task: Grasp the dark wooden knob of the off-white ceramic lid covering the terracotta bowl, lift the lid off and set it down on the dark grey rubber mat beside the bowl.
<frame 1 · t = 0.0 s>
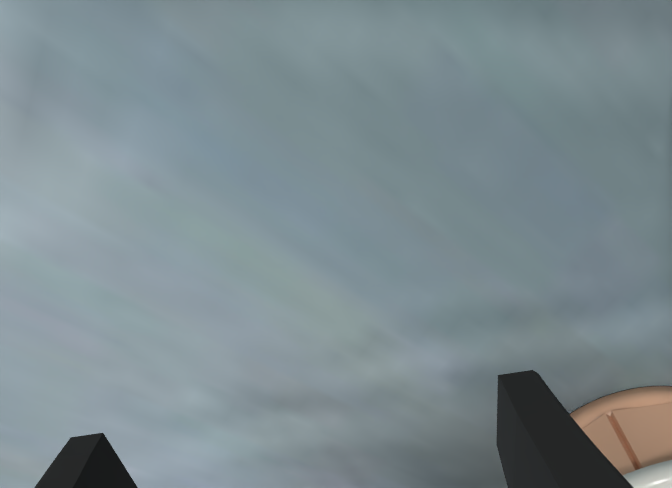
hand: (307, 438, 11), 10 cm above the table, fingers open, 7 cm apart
bowl: (625, 446, 29), on the table
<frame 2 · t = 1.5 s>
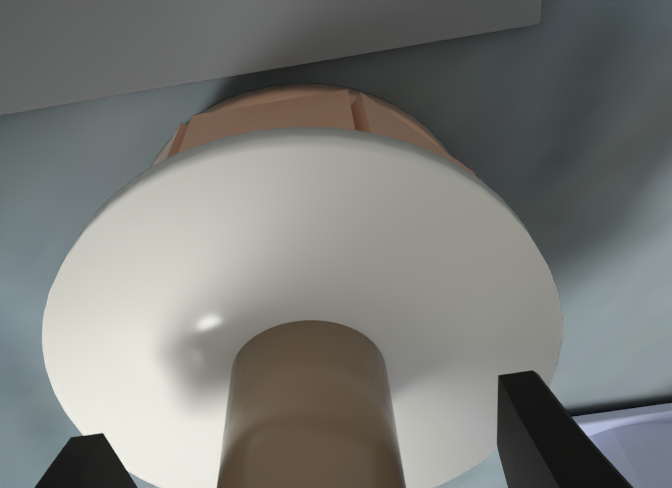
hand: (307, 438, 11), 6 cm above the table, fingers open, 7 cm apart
lid: (308, 349, 13), point 4 cm above the table, touching bowl
bowl: (306, 243, 16), on the table
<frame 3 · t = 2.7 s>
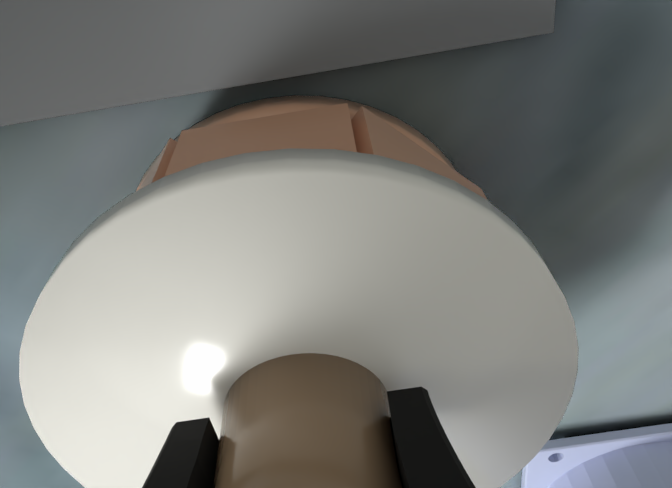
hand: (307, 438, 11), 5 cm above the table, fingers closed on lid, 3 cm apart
lid: (306, 379, 12), point 4 cm above the table, touching bowl, gripper
bowl: (304, 261, 15), on the table
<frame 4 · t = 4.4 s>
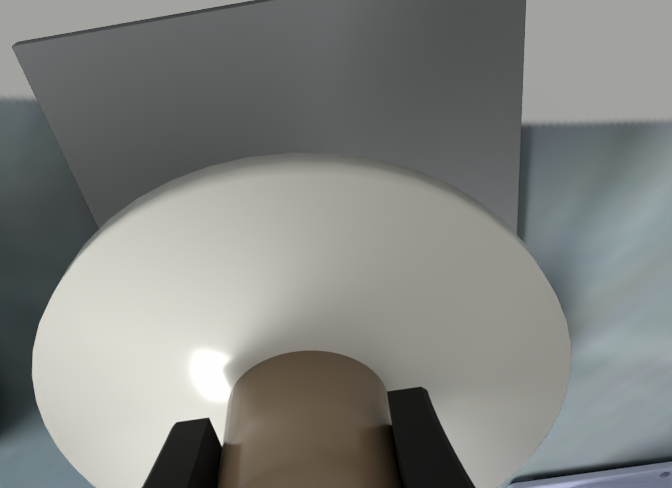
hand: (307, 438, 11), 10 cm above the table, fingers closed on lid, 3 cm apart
lid: (308, 378, 12), point 8 cm above the table, touching gripper
mat: (302, 174, 19), on the table
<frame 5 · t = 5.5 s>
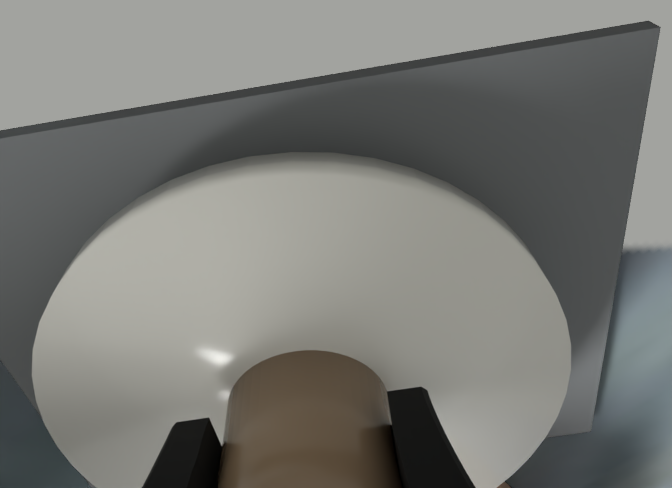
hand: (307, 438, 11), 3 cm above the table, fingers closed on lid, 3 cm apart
lid: (308, 378, 12), point 2 cm above the table, touching gripper
mat: (305, 314, 13), on the table
when the fingers open (3 cm above the table, at t = 6.4 s): lid stays where it is, resting on mat.
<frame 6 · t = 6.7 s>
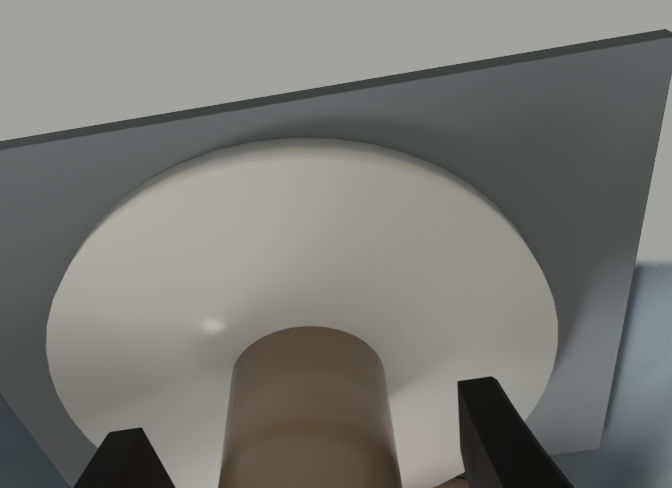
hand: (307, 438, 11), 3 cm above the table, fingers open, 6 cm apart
lid: (308, 353, 13), resting on mat
mat: (305, 331, 13), on the table
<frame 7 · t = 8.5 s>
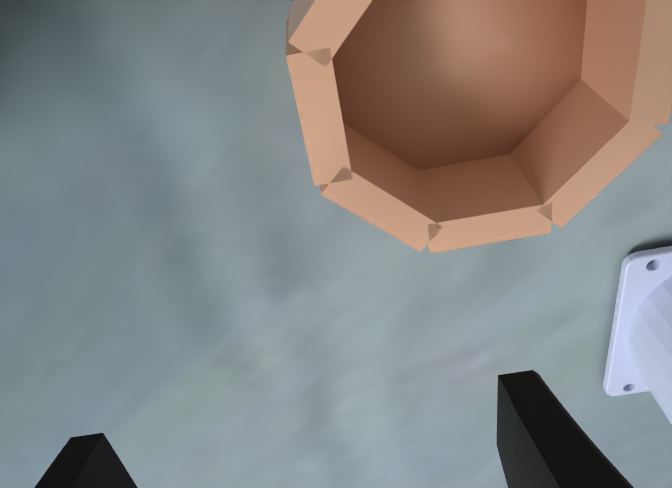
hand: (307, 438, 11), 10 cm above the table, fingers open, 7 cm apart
bowl: (450, 41, 17), on the table
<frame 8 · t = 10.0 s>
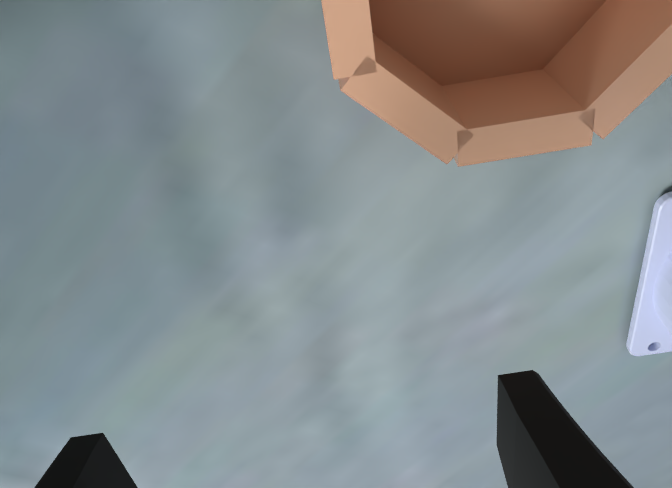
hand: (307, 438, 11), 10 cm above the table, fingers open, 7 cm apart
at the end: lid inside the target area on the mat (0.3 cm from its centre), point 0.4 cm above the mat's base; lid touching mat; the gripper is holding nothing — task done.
